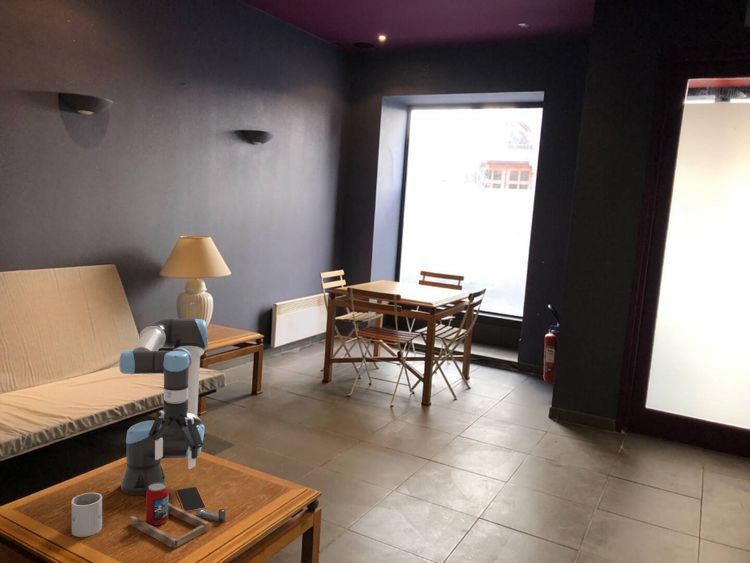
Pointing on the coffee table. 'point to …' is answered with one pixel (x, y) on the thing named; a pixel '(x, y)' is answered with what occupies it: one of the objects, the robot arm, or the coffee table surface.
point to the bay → (166, 538)
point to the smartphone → (190, 499)
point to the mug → (86, 514)
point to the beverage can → (157, 503)
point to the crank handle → (211, 514)
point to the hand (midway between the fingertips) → (175, 462)
